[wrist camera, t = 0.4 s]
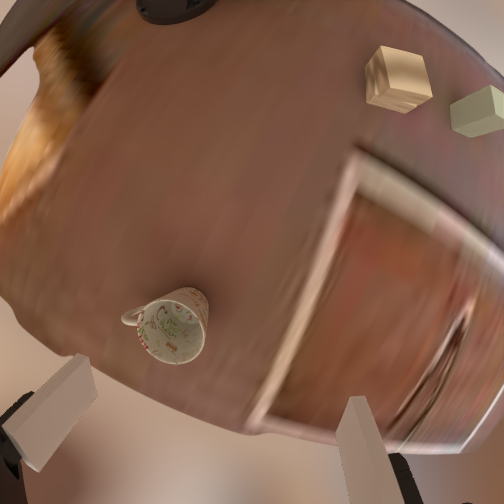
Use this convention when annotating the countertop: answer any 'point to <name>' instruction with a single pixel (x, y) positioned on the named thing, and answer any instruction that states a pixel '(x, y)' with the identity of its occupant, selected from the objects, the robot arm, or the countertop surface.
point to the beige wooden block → (373, 95)
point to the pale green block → (478, 112)
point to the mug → (172, 325)
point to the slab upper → (401, 76)
